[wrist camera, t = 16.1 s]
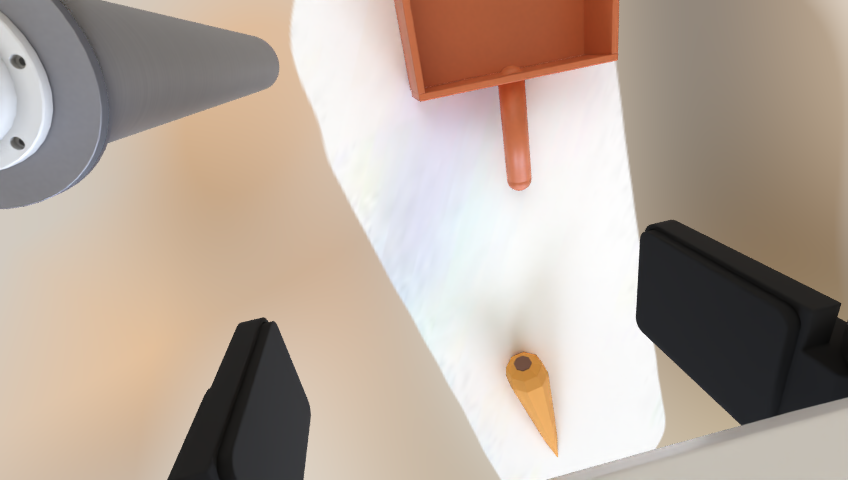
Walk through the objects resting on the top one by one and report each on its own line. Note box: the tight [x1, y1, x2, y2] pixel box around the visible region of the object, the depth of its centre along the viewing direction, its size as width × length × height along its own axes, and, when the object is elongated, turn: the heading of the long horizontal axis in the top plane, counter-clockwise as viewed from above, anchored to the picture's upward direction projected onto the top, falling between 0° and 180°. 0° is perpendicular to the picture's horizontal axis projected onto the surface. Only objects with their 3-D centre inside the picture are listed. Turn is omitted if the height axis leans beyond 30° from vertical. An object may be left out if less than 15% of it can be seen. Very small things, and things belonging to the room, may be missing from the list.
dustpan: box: [394, 0, 619, 191], centre depth 31 cm, size 22×15×4 cm
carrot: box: [506, 352, 558, 457], centre depth 48 cm, size 20×4×4 cm, turn 22°
